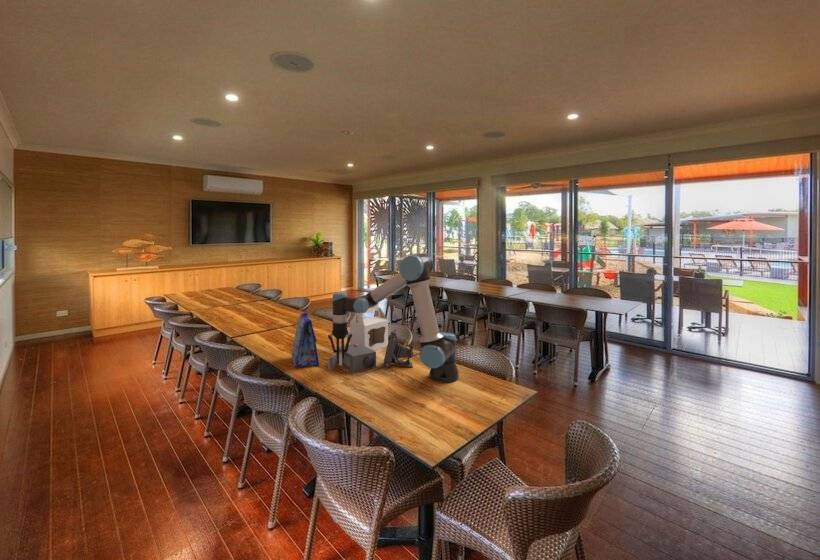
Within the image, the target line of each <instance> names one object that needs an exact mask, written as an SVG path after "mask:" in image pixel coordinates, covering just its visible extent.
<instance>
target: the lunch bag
mask: <svg viewBox="0 0 820 560" xmlns="http://www.w3.org/2000/svg"><path fill="white" fill-rule="evenodd" d="M296 322H297V323H296V328H295V333H294V339H293V344H292V350H291V359H292V362H293V365H294V368H295V369H299V368H303V367H307V366H309V367H311V366H313V367H318V366H320V361H319V359H320V358H319V352H318V349H317V342H318V341H317V338H316V334H315V330H314V327H313V322H312V319H311V318H310V317H309V314H308V312H307V311H305V312H304V311H303V312H302V313H300V314H299V316H298V319H297V321H296Z"/></svg>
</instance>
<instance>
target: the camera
mask: <svg viewBox="0 0 820 560" xmlns="http://www.w3.org/2000/svg"><path fill="white" fill-rule="evenodd" d="M408 346H409V347H407V346H405V345H404V344H402V343H400V342H399V341H398V333H397V330H396V329H393V330H392V331H391V332H390V334H388V345H387V346H386V351H385V354H384V358H383V367H384V368H385V369H389V368H390V367H391V365H392V364H394V365H397V366H398V365H399V366H403V367H407V368H411V369H412V368H413V367H414V366H413V361H410V359H412V357H413V355H414V347H415V346H414V344H411V343H409V344H408ZM403 359H406V360H403Z"/></svg>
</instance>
